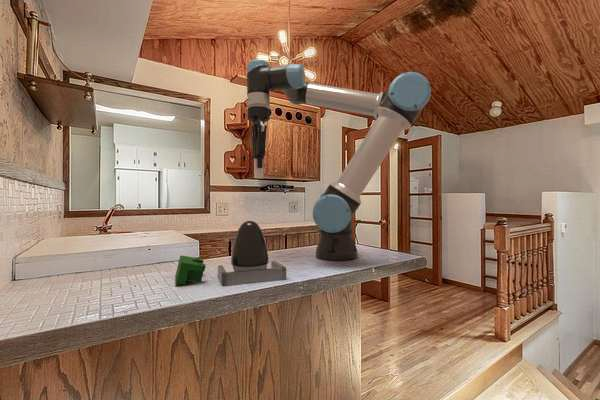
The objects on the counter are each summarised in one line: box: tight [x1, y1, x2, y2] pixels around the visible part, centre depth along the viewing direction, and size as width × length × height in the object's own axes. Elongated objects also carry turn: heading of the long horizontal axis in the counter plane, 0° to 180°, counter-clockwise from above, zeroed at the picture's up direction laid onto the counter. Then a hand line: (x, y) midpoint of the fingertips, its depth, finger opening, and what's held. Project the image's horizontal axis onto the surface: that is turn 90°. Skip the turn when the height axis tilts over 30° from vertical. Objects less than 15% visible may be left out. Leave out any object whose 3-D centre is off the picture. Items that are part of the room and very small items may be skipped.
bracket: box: [217, 260, 287, 287], centre depth 80 cm, size 16×10×3 cm, turn 111°
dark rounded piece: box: [230, 220, 270, 272], centre depth 83 cm, size 10×10×15 cm
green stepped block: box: [174, 255, 207, 286], centre depth 79 cm, size 12×6×9 cm, turn 17°
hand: (259, 178), depth 101 cm, fingers closed
